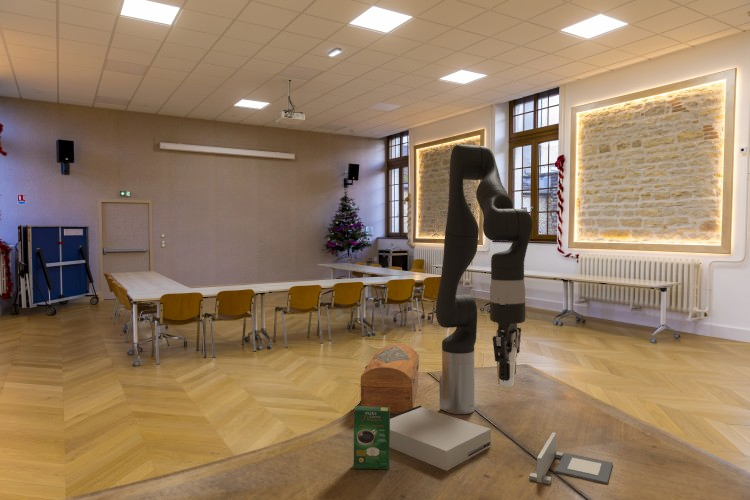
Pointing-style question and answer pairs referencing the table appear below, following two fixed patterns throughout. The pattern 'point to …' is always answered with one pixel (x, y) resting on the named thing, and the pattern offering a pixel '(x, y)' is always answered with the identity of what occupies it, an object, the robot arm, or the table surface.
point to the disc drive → (437, 437)
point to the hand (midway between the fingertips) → (507, 376)
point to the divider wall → (546, 460)
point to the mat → (585, 468)
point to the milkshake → (512, 369)
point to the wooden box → (391, 379)
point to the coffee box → (371, 437)
